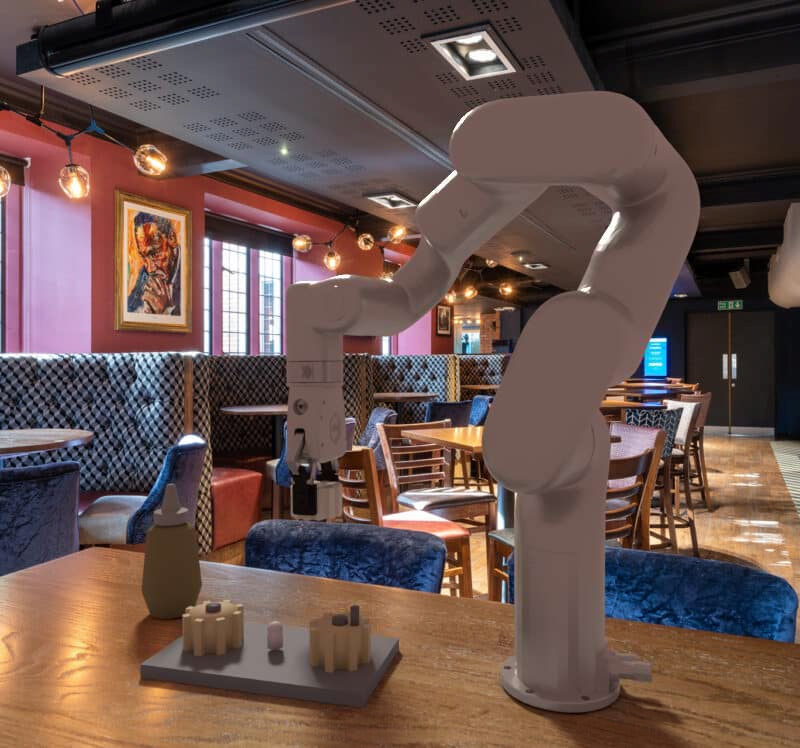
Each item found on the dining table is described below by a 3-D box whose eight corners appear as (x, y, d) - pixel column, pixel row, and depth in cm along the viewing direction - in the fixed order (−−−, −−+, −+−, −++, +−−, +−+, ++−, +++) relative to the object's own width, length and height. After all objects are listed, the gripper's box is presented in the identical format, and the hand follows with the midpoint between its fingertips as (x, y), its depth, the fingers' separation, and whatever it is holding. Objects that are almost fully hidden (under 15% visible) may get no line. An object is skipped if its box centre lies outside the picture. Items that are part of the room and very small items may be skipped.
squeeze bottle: (183, 625, 90) (182, 491, 89) (129, 621, 91) (127, 489, 91) (212, 604, 97) (211, 480, 97) (161, 600, 99) (160, 478, 99)
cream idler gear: (349, 510, 92) (349, 481, 92) (330, 521, 86) (330, 490, 86) (304, 508, 94) (303, 479, 94) (282, 519, 88) (281, 488, 88)
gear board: (399, 650, 82) (398, 588, 81) (362, 708, 68) (362, 634, 68) (207, 629, 88) (207, 572, 88) (140, 677, 75) (139, 610, 75)
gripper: (314, 376, 80) (316, 525, 81) (363, 373, 97) (364, 497, 97) (258, 376, 83) (260, 522, 83) (315, 374, 99) (316, 495, 99)
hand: (316, 507), depth 90 cm, fingers closed on cream idler gear, 6 cm apart
